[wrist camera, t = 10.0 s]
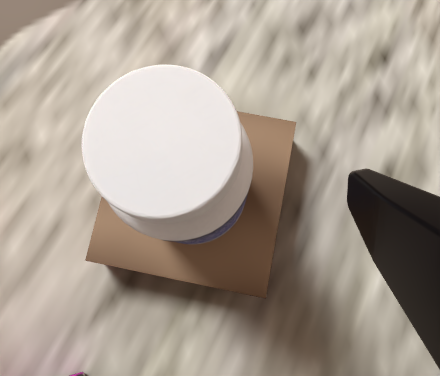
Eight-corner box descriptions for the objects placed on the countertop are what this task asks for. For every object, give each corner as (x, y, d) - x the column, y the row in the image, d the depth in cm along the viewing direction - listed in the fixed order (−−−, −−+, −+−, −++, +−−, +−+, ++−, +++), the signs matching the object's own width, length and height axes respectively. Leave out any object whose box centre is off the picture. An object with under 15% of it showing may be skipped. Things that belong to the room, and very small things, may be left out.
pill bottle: (254, 154, 20) (279, 65, 10) (233, 254, 19) (240, 261, 9) (157, 135, 20) (91, 30, 11) (132, 232, 19) (35, 216, 10)
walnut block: (261, 292, 21) (265, 298, 19) (101, 259, 22) (85, 260, 19) (288, 135, 23) (296, 122, 20) (139, 108, 23) (128, 91, 21)
